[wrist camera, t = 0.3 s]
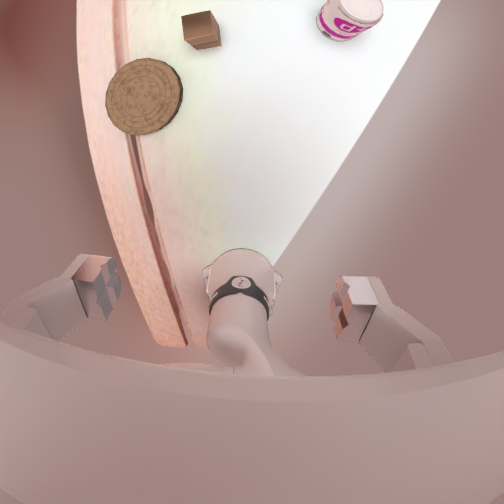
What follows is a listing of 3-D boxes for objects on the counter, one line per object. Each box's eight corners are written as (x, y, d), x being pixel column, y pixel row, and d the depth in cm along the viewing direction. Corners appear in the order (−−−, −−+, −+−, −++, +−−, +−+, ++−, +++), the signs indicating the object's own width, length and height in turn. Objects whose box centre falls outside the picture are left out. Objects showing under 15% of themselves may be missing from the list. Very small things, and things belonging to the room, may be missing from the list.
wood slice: (198, 78, 45) (195, 76, 42) (159, 146, 52) (154, 148, 49) (134, 49, 41) (128, 47, 38) (101, 115, 48) (94, 117, 45)
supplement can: (353, 47, 40) (384, 32, 27) (312, 34, 39) (331, 12, 26) (359, 15, 36) (389, -7, 23) (319, 2, 35) (338, -26, 22)
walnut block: (221, 45, 41) (213, 34, 33) (197, 50, 42) (184, 39, 33) (218, 25, 39) (210, 10, 30) (194, 29, 39) (181, 16, 31)
